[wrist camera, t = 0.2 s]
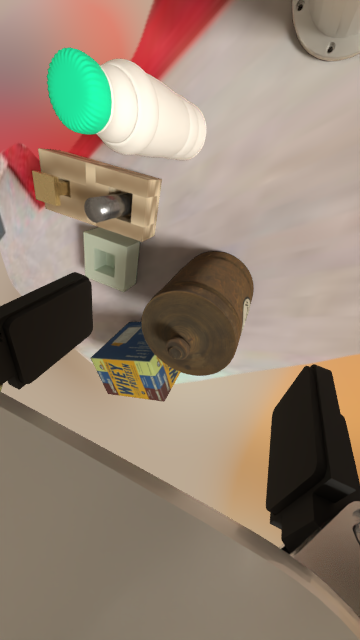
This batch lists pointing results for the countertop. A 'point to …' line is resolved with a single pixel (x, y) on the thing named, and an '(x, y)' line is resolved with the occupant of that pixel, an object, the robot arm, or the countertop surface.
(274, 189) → the countertop surface
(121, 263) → the pale green square block
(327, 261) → the countertop surface
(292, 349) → the countertop surface
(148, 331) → the wooden container
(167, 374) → the protein box
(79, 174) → the socket block
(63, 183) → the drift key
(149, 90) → the water bottle
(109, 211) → the silver cylinder
